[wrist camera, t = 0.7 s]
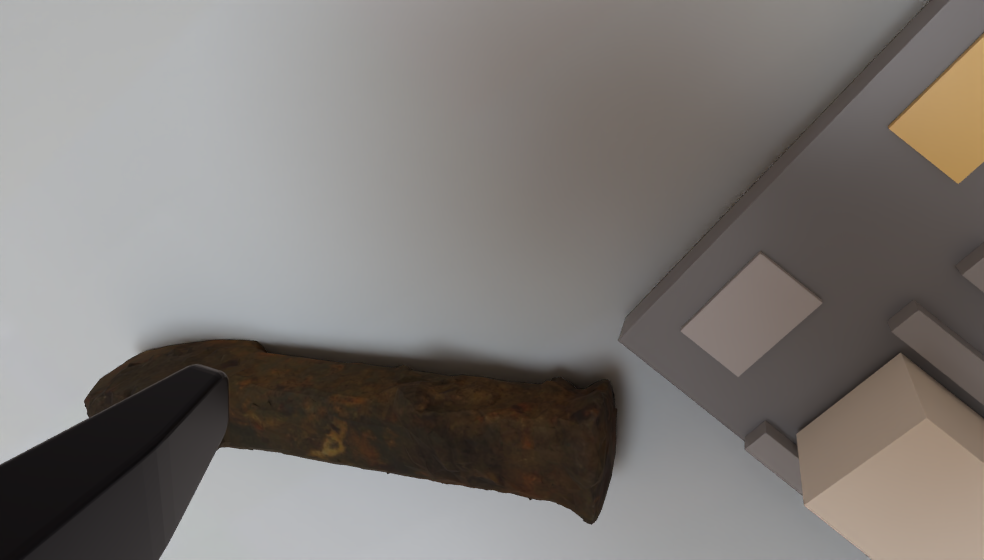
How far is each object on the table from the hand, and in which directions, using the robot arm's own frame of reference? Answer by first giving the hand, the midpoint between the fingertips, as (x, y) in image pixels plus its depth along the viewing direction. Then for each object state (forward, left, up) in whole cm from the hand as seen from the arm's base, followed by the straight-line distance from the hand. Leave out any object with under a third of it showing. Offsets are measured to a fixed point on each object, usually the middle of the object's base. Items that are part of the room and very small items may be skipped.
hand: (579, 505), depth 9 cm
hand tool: (+4, +13, -14) cm, 19 cm away
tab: (-8, +1, -11) cm, 14 cm away
